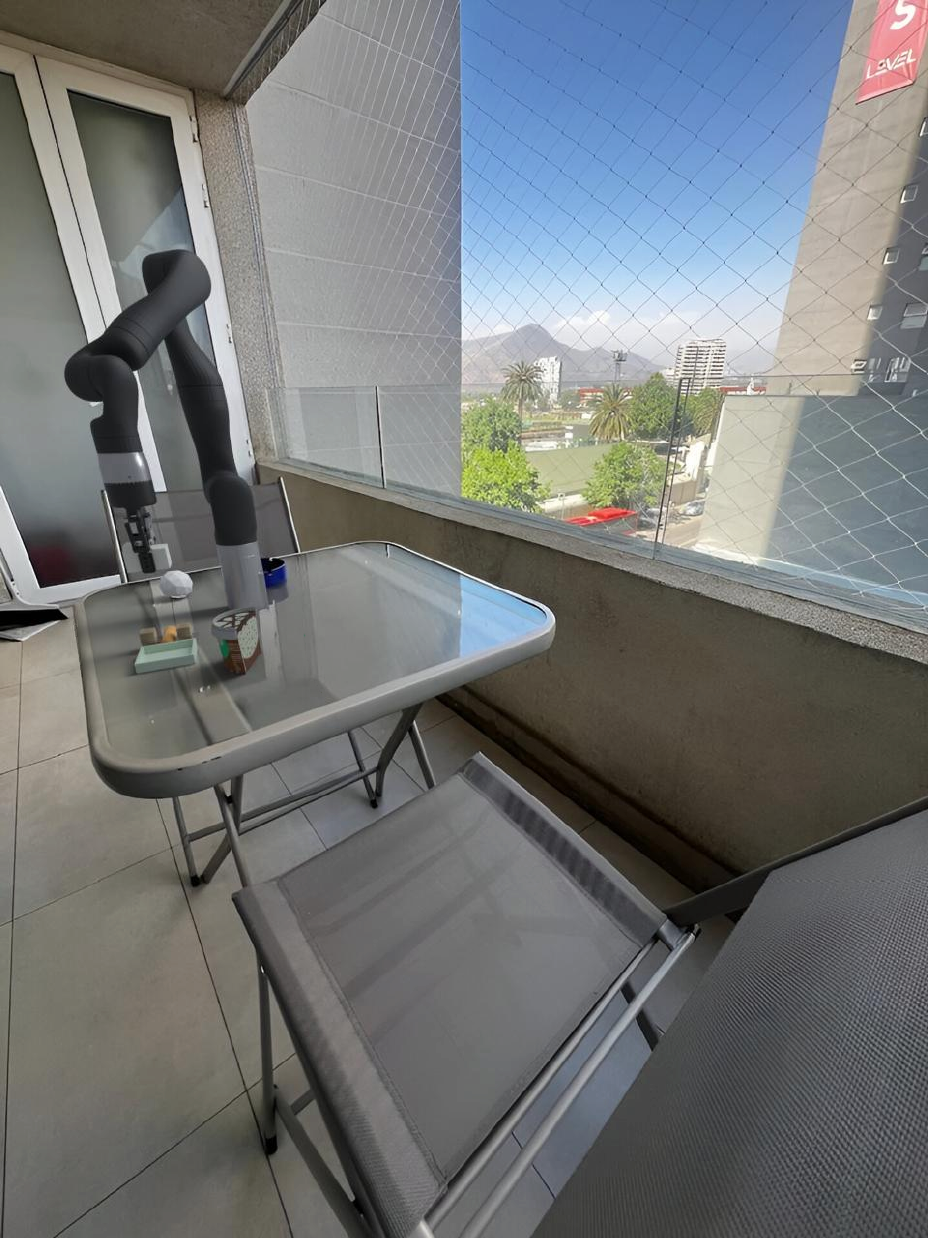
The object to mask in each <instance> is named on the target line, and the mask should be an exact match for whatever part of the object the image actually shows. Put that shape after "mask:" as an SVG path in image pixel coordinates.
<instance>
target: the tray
mask: <svg viewBox="0 0 928 1238" xmlns="http://www.w3.org/2000/svg"><path fill="white" fill-rule="evenodd" d="M197 648H198V649H199V645H198V646H197V641H196V638H194V639H188V640H181V641H175V642H169V643H163V644H156V645H150V646H144V647H143V646H141V647H140V650H139V652H138V655H137V657H136V660H135V662H134V668H135V671H136V675H140V674H139V673H142V674H146V673H145V672H147V673H152V672H151V671H153V672H157V671H156V670H159V671H163V670H162V669H164V670H168V669H167V668H170V669H174V668H173V667H176V668H180V667H179V666H181V667H185V666H184V665H187V666H191V665H190V664H193V665H196V663H197V657H196V656H198V649H197Z"/></svg>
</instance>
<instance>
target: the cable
mask: <svg viewBox="0 0 928 1238" xmlns="http://www.w3.org/2000/svg"><path fill="white" fill-rule="evenodd" d="M176 636H177V632H176V626H175V625H168V626H167V627H165V629H164V631H163V634H162V637H163V638H162V637H161V638H162V641H161V644H163V643H169V642H175V640H176Z"/></svg>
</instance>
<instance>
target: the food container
mask: <svg viewBox="0 0 928 1238" xmlns="http://www.w3.org/2000/svg"><path fill="white" fill-rule="evenodd" d="M258 616H259V614H258V611H257V609H256V607H245V608H239V609H235V610H231V611H229V610H228V611H225V612H223V613H220V614H218V615H217V616H215V617H214V618H213V620H212V623H211V627H210V628H211V630H210V631H211V636H212V637H214V638H216V639H217V643H218V647H219V650H220V653H221V655H222V659H223V661H224V666H225V668H226V671H228V672H229V673H232V674H236V675H246V674H247V673H248V672H249V671H250V669H251V668H252V666H253V665H254V663H255V662H256V661H257V659H258V658H259V657H260V655H261V654H262V653H263V649H262V643H261V641H262V640H261V636H260V628H259V620H258Z"/></svg>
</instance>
